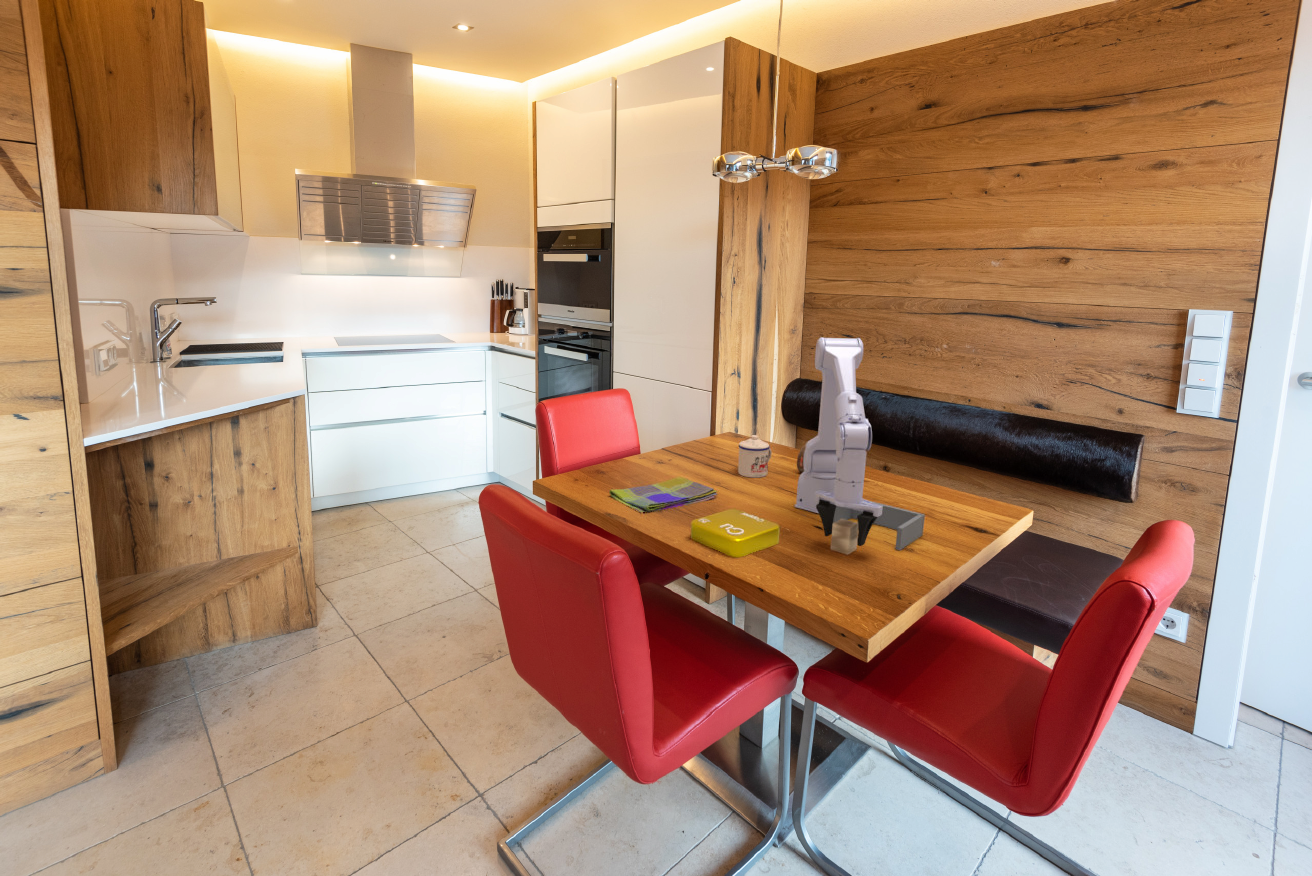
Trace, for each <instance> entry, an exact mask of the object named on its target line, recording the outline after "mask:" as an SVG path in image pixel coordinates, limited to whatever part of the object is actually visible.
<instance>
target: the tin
mask: <svg viewBox="0 0 1312 876" xmlns="http://www.w3.org/2000/svg"><path fill="white" fill-rule="evenodd" d="M805 448H806V444H804V445H803V446H802V447H801V448H800V450H799V452H798V455H797V459H796V468H797V469H796V470H797V471H798V472H801V473H803V472H804V471H805V470H804V465H803V459H804V452H805Z"/></svg>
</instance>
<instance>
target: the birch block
mask: <svg viewBox="0 0 1312 876" xmlns="http://www.w3.org/2000/svg"><path fill="white" fill-rule="evenodd" d="M857 540H858V522H855V521H852V520H850V519H848V520H845V519H840V520H838V521H836V522H834V523H833V527H832V534H831V539H830V542H831V543H830V551H835V552H838V553H841V554H843V555H847V556H848V555H850V554H851V553H853V552H854V551H856V550H857V547H858V545H857Z"/></svg>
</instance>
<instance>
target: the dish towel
mask: <svg viewBox="0 0 1312 876" xmlns="http://www.w3.org/2000/svg"><path fill="white" fill-rule="evenodd" d="M609 495H610V496H611V497H612V498H613V499H614V500H615V501H617V502H619V501H620V502H619V503H621V504H622V503H623V505H624V504H625V505H624V506H626V505H627V506H626V507H628V506H630V507H631V508H630V507H629V508H630V509H632V508H634V509H635V510H634V509H633V510H634V511H636V510H637V511H639V512H641V513H642V512H647V513H652V512H651V511H654V512H658V510H659V511H663V509H664V510H669V509H668V508H670V509H673V507H675V508H679V507H678V506H680V507H684V506H683V505H685V506H690V505H693V503H694V504H699V503H702V502H703V501H704V502H707V501H710V500H714V499H716V497H715V496H717V495H718V490H715V488H714V487H710V486H707V485H704V484H702V483H700V482H695V481H692V480H690V479H689V478H685V477H681V476H676V477H674V478H671V479H668V480H665V481H662V482H657V483H654V484H648V485H640V486H635V487H629V488H624V489H622V488H620V489H610V490H609ZM698 502H699V503H698ZM704 502H703V503H704ZM689 504H690V505H689ZM637 511H636V512H637ZM639 512H638V513H639ZM641 513H640V514H641Z"/></svg>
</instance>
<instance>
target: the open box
mask: <svg viewBox="0 0 1312 876" xmlns="http://www.w3.org/2000/svg"><path fill="white" fill-rule="evenodd" d="M866 500H867V499H866ZM867 501H870V502H872V503H875V504H878V505H881V506H883V509H882V515H880V516H878V518H877V519H876V520H875V522H874V523H873V525H877V526H881V527H885V528H888V529H892V530H896V538H895V539H896V540H895V547H894V549H895V550H896V551H901V550H903V549H904V548H905V547H907V546H909V545H910V544H911V543H912V544H913V542H915V541H916V540H918V539H919V538H921V537H922V536H923V533H924V526H925V517H926V515H925V514H924V513H921V512H916V511H913V510H909V509H905V508H900V507H895V506H892V505H888V504H885V503H879V502H875V501H871V500H867ZM860 514H863V512H861V511H857V510H853V509H850V508H846V507H840V506H836V510H835V514H834V520H833V523H834V522H836V521H838V520H840V519H845V520H850V519H855V520H858V519H857V516H858V515H860Z"/></svg>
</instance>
